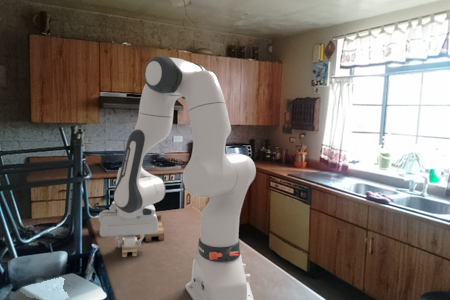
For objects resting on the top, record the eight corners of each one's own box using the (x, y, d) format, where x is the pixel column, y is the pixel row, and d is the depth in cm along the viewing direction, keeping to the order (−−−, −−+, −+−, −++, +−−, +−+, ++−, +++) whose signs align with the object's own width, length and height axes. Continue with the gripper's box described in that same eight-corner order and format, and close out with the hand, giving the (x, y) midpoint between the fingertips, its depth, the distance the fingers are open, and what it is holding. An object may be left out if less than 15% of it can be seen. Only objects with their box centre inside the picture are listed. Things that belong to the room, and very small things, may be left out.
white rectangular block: (135, 246, 116) (135, 238, 116) (124, 247, 115) (124, 239, 115) (135, 238, 123) (135, 231, 123) (124, 239, 122) (124, 231, 122)
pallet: (137, 256, 115) (137, 248, 115) (122, 257, 114) (122, 249, 114) (136, 244, 125) (136, 237, 125) (122, 245, 124) (122, 238, 123)
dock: (164, 240, 130) (164, 227, 129) (132, 242, 126) (132, 229, 126) (160, 226, 145) (160, 215, 144) (132, 227, 142) (132, 216, 141)
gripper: (97, 213, 112) (98, 252, 113) (159, 210, 117) (158, 247, 119) (99, 207, 118) (99, 244, 119) (157, 205, 123) (157, 240, 125)
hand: (129, 246), depth 119 cm, fingers closed on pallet, 5 cm apart
